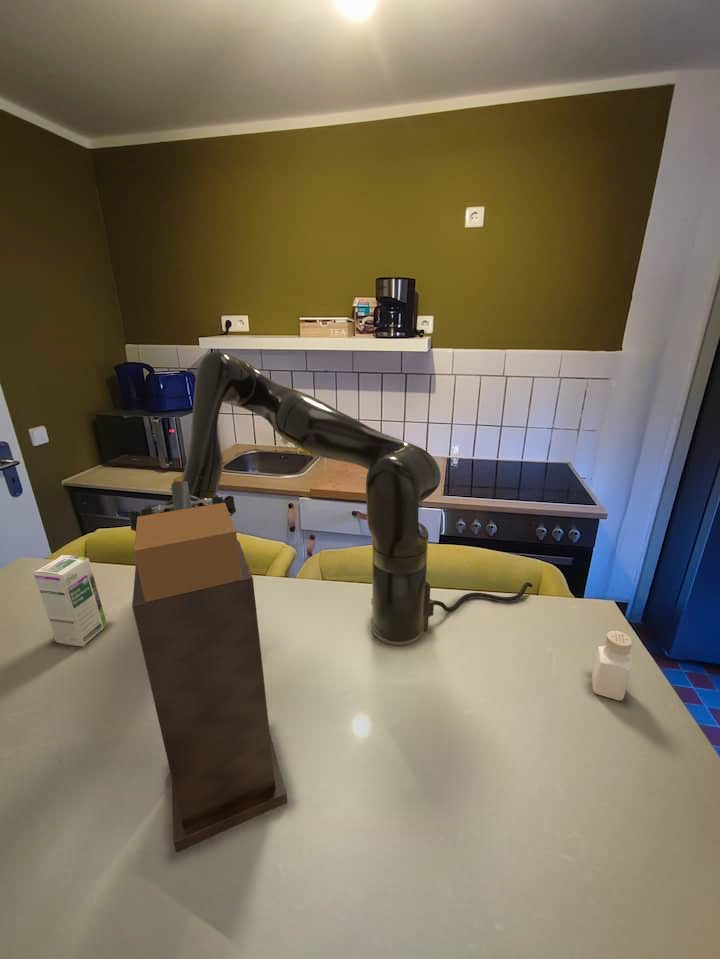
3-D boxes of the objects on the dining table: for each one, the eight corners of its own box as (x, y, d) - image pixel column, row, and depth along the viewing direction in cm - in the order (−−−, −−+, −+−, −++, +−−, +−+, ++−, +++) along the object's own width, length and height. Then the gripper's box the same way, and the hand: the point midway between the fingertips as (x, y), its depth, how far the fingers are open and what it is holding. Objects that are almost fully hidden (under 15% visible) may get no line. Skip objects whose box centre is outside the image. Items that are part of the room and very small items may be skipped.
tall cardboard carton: (212, 491, 60) (207, 457, 58) (241, 580, 39) (236, 531, 37) (149, 500, 56) (142, 464, 55) (145, 602, 36) (133, 550, 34)
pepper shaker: (620, 683, 65) (634, 633, 62) (623, 703, 62) (637, 651, 58) (591, 675, 67) (602, 625, 63) (592, 694, 63) (604, 642, 60)
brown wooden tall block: (268, 731, 58) (246, 534, 47) (287, 802, 49) (266, 580, 39) (172, 767, 53) (125, 557, 43) (175, 852, 45) (117, 616, 34)
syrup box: (83, 647, 73) (62, 574, 68) (54, 643, 74) (31, 571, 69) (108, 626, 78) (90, 556, 73) (80, 621, 79) (61, 553, 74)
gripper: (136, 506, 70) (119, 488, 55) (226, 492, 75) (233, 472, 61) (143, 551, 69) (128, 546, 54) (233, 534, 74) (242, 524, 60)
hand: (183, 507), depth 57 cm, fingers open, 8 cm apart
